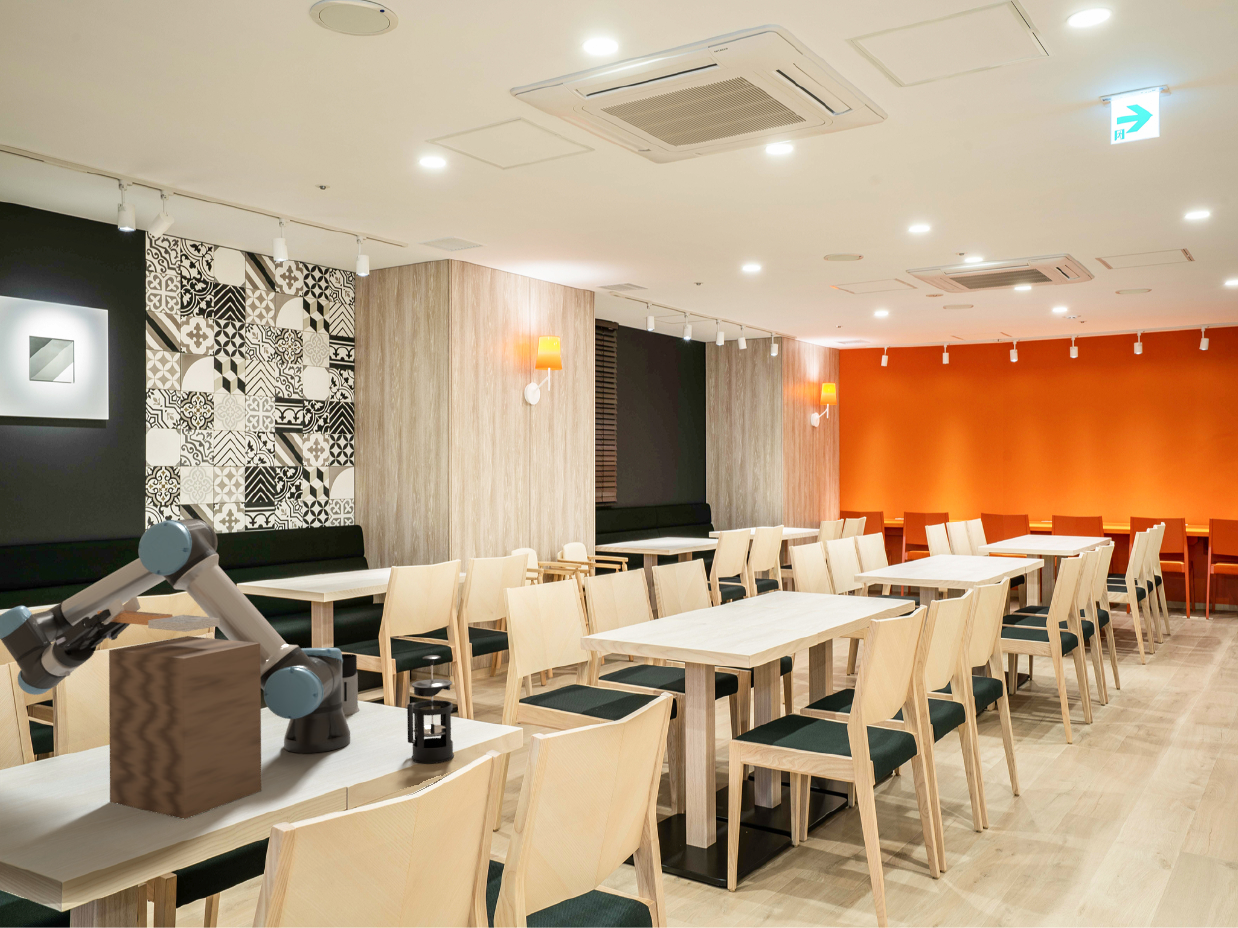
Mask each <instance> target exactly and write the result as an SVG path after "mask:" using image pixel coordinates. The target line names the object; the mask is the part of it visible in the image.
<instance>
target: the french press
mask: <svg viewBox="0 0 1238 928" xmlns="http://www.w3.org/2000/svg"><path fill="white" fill-rule="evenodd" d="M441 658H442V656H440V655H436V654H435V655H433V654H431V655H425V656H423V657H422V660H424V661H425V660H427V661H429V666H430V674H431V675H430V679H424V680H423V679H421V680H418V681H415V682H412V684H411V687H412V688H413V695H414V696H416V697H423V698H425V697H426V698H428V697H429V698H430V697H431V698H430V699H431V700H423V701H418V702H411V703H408V704H407V706H406V707H407V711H406V712H407V716H406V717H407V743H409V744H412V756H411V761H412V762H414V763H415V764H420V765H421V764H422V765H424V764H426V765H434V764H441V763H446V762H448V761H451V760H453V759H454V757H455V754H454V741H453V740H452V727H451V725H452V721H451V720H452V716H451V715H452V711H453V702H451V701H448V700H440V699H435V700H434V697H435V696H436V695H438V694H439V693H440V692H441V691H443V690H446V691H451V685H453V681H452V680H451V679H450V680H449V679H441V678H440V679H439V678H434V676H433V674H434V672H433V671H434V667H433V666H434V665H435V661H436V660H441ZM426 707H427V709H424V708H426ZM428 707H431V709H429V708H428ZM434 707H439V708H434ZM439 715H440V724H434V716H439ZM425 716H431V724H430V725H429V724H427V725H425Z"/></svg>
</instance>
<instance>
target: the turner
mask: <svg viewBox="0 0 1238 928" xmlns="http://www.w3.org/2000/svg"><path fill="white" fill-rule="evenodd" d="M102 611H103V610H102ZM102 611H97V614H99V613H101V612H102ZM111 622H119V623H129V624H130V625H141V626H147V627H148V629H152V630H153V629H154V630H161V631H163V630H164V631H173V632H175V631H176V632H186V633H187V632H191V631H197V630H204V629H209V628H214V627H217V626H220V622H219V618H214V617H209V616H203V615H202V616H201V615H189V614H188V615H187V614H186V615H185V614H179V615H173V614H172V613H171V614H169V613H161V612H160V613H158V612H148V611H147V612H145V611H138V610H137V611H125V610H124V611H123V612H122V613H120V614H119V615H118V616H117V617H115V618H114V619H113V620H112V621H111Z"/></svg>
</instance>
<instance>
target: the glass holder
mask: <svg viewBox="0 0 1238 928" xmlns="http://www.w3.org/2000/svg"><path fill="white" fill-rule="evenodd" d="M342 660H343V663H342V708H343V713H344V716H347V715H348V716H349V715H353V714H357V713H358V712H360V708H359V703H358V702H359V701H358V697H359V696H358V695H359V694H358V693H359V692H358V690H359V689H358V688H359V686H358V683H359V682H358V678H359V677H358V665H357V664H358V663H357V662H358V659H357V654H355V653H354V654H353V653H342Z"/></svg>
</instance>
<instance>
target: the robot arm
mask: <svg viewBox="0 0 1238 928" xmlns="http://www.w3.org/2000/svg"><path fill="white" fill-rule="evenodd" d="M217 549H218V536H217V534H216V531H215V530H214V528H213V527H212V526H211V524H208V523H207V522H205V521H204V520H201V519H198V518H184V519H178V520H177V519H176V520H174V519H167V520H163V521H161V522H157V523H155V524H152V525H151V526H150V527H148V528H147V529H146V530H145V532H144V533H143V534H142V535H141V538H140V541H139V543H138V549H137V550H138V558H136V559H135V560H133V561H131V562H129V563H128V564H126V565H124V566H123V567H120V568H119V569H117V570H116V571H113V572H112V573H110V574H108V575H107V576H105V577H103V578H102V579H100V580H98V581H96V582H94V583H93V584H91V585H90V586H88V587H86V588H84V589H83V590H81V591H79V592H77V593H75V594H74V595H72V596H70V597H69V598H66V599H65V600H63V601H61V602H60V603H58V604H56V605H55V606H52V607H50V608H49V609H47V610H45V611H41V612H37V613H32V611H30V610H29V609H28V607H27V606H25V605H18V606H15V607H13V608H11V609H9V610H6V611H5V612H3V613H2V614H0V641H1V642H2V644H3V645H4V646H5V648H6V649H7V650H8V652H9V654H10V655H11V656H12V658H13V659H14V661H15V662H16V663H17V665H18V667H19V669H20V671H19V673H18V674H17V682H18V683H17V684H18V687H20V689H21V690H22V691H23V692H25V693H27V694H29V695H32V696H33V695H34V696H35V695H37V696H38V695H42V694H45V693H47V692H48V691H49V690H51V689H52V688H54V687H56V686H58V685H59V683H61V681H62V682H63V680H64V679H65V678H66V677H70V676H71V673H73V672H74V671H75V670H76V669H77V668H79V667H80V666H81V665H83V664H84V663H86V662H87V661H88V660H89V659H91V658H92V656H94V654H95V651H96V647H97V646H99V644H101V643H103V641H104V640H105V639H109V640H111V641H114V640H117V639H118V636H119V635H120V634H121V633H122V632H123V631H124V630H126V628H129V626H130V625H131V624H129V623H119V622H111V621H112V620H113V619H114V618H115V617H117V616H118V615H119V614H120V613H122V612H123V611H124V610H125V611H137V612H138V611H140V610H141V605H140V602H139V600H138V596H139V595H141V594H142V593H144V592H146V591H148V590H150V589H151V588H153V587H155V586H156V585H158V584H160V583H162V582H164V581H167V582H168V583H169V584H170V586H171V587H172V588H173V589H174V590H183V591H185V592H187V594H188V595H189V596H190V598H192V600H194V602H195V603H196V605H198V606H199V608H200V609H201V610H202V611H203V612H204V614H206V615H207V617H214V618H219V622H220V626H216V627H217V628H218V629H219V631H221V632H222V634H223V635H224V636H225V637H226V638H227V640H232V641H242V642H253V643H260V675H261V689H262V690H263V698H264V699H263V700H264V702H265V705H266V707H267V708H268V710H270V712H272V713H273V714H274V715H275V716H277V717H279V718H283V719H287V720H288V719H289V722H288V725H287V728H286V731H285V734H284V738H283V748H284V750H286V751H287V752H292V753H298V754H299V753H301V754H310V753H311V754H313V753H323V752H329V751H334V750H339V749H341V748H344V747H346V746H347V745H349V744H350V743H351V730H350V728H349V724H348V722H347V719H346V715H344V713H343V708H342V663H343V660H342V654H343V653H342V650H341V649H340V648H338V647H306V648H305V647H304V648H303V647H302V648H301V647H300V646H299V645H298V644H288V643H287V642H286V641H285V640H284V639H283V638H282V636H281V635H280V634H279V633H278V632H277V630H276V629H275V628H274V627H273V626H272V625H271V624H270V622H269V621H268V620H267V619H266V618H265V616H263V614H262V613H261V612H260V611H259V610H258V608H257V607H255V605H254V604H253V603H252V602H251V601H250V599H248V597H247V596H246V595H245V594H244V593H243V592H242V591H241V589H240V588H239V587H238V585H236V583H235V582H233V581H232V579H231V578H230V577H229V576H228V575H227V573H225V571H224V570H223V569H222V568H221V567H220V566H219V559H220V556H219V554H218V552H217ZM102 610H103V611H102ZM97 611H102V612H101V613H99V614H97Z"/></svg>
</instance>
